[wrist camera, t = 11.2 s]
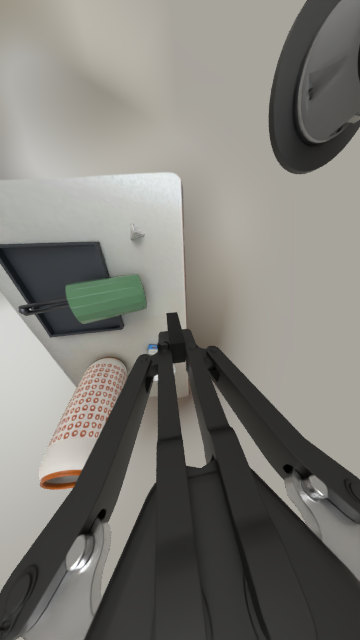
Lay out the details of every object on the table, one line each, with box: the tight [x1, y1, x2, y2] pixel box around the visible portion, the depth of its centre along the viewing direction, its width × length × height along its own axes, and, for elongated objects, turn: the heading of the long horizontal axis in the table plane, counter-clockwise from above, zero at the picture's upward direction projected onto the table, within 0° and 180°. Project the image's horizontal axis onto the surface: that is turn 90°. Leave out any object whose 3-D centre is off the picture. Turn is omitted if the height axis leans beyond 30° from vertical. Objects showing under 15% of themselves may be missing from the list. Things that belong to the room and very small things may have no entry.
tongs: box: [19, 297, 70, 316], centre depth 31 cm, size 2×11×21 cm
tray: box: [0, 242, 124, 337], centre depth 33 cm, size 23×20×2 cm
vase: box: [39, 357, 127, 489], centre depth 37 cm, size 13×13×28 cm
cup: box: [65, 274, 147, 324], centre depth 30 cm, size 9×9×14 cm
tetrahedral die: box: [131, 223, 144, 240], centre depth 29 cm, size 4×3×3 cm
